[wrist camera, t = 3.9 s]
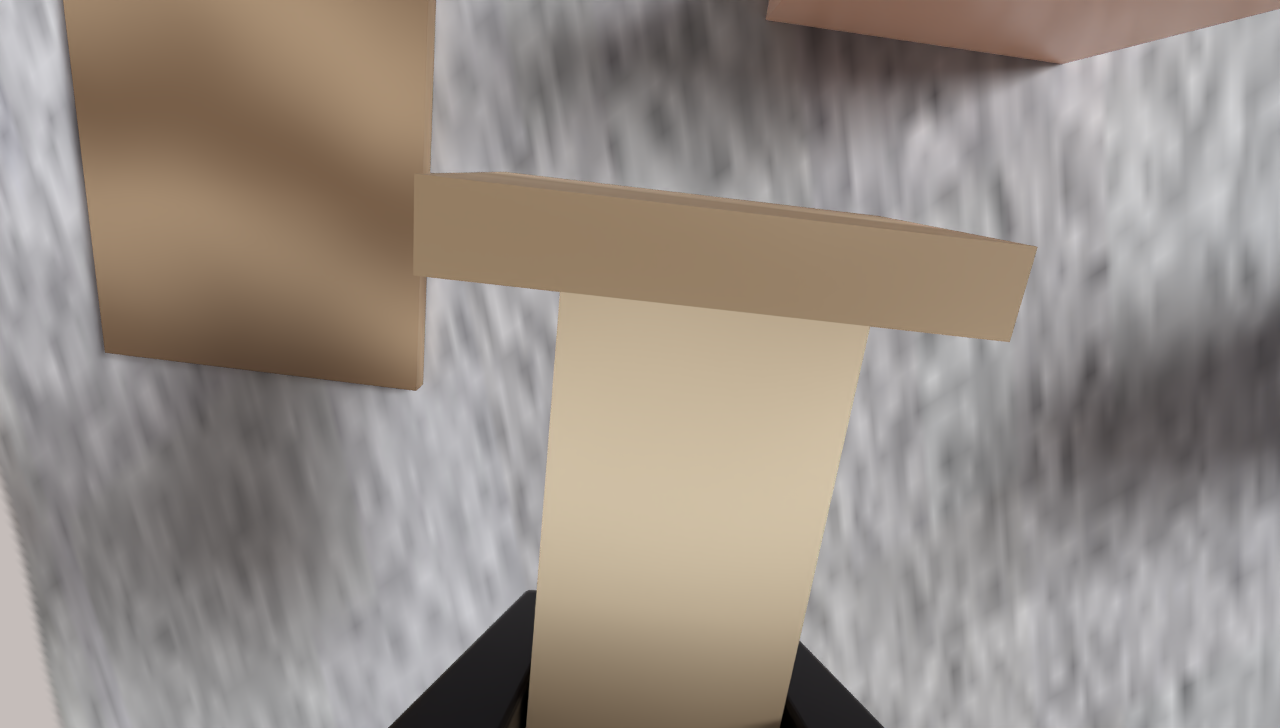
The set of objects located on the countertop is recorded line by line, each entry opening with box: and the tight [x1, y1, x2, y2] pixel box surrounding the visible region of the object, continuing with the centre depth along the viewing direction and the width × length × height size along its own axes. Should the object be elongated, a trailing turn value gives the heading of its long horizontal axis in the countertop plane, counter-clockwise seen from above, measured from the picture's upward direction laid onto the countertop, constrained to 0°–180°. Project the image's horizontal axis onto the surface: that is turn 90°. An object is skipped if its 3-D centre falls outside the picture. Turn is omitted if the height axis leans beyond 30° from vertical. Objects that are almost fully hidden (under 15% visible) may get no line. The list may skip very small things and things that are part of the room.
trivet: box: [63, 0, 436, 391], centre depth 17 cm, size 12×9×1 cm
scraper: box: [413, 172, 1037, 728], centre depth 8 cm, size 11×5×4 cm, turn 174°
